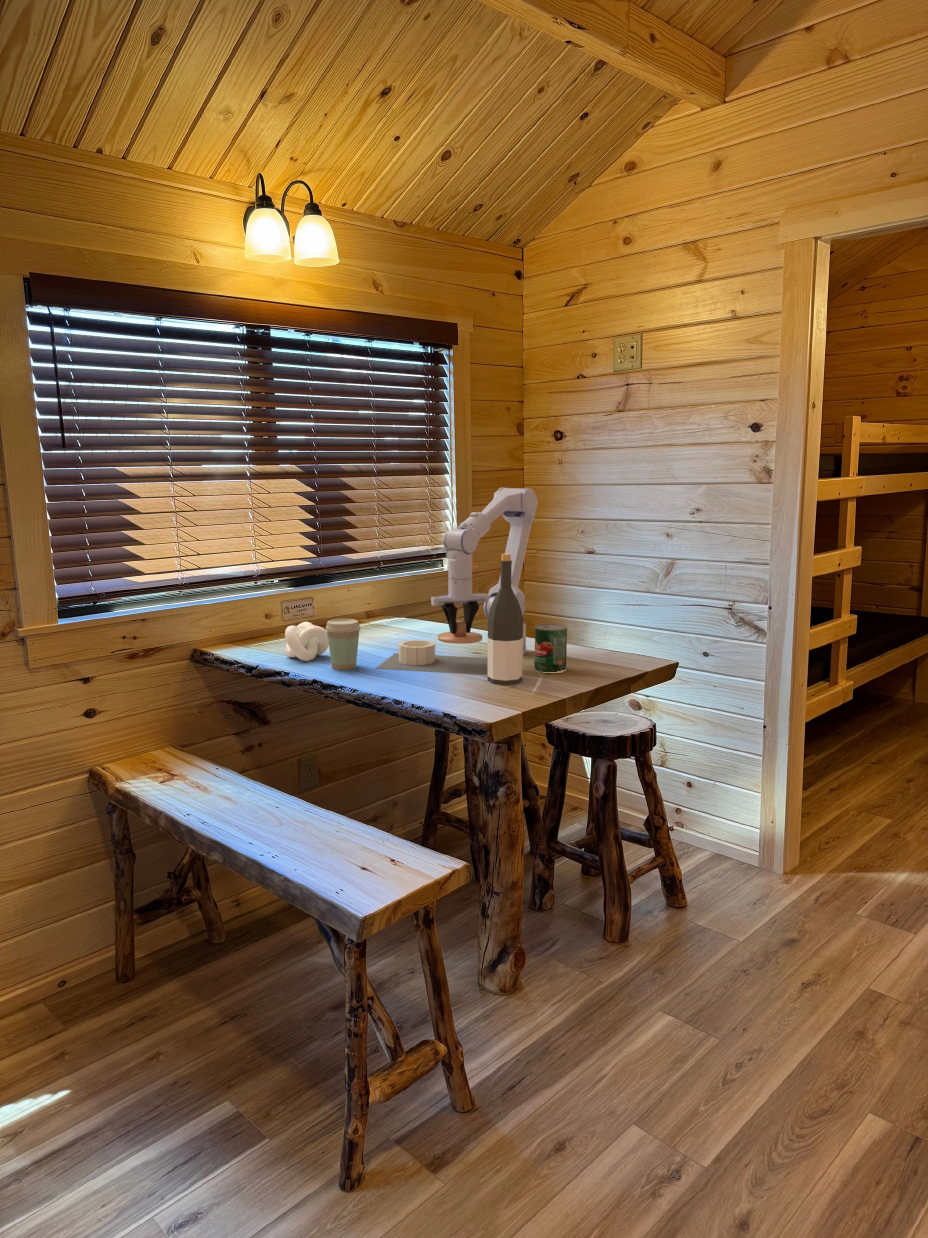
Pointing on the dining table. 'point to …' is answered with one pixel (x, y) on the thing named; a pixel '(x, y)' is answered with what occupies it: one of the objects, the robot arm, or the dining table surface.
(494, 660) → the wine bottle
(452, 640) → the lid
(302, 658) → the white knot sculpture
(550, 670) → the canned tomato
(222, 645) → the dining table surface
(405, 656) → the bowl
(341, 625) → the coffee cup
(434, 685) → the dining table surface
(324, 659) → the dining table surface
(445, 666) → the mat
